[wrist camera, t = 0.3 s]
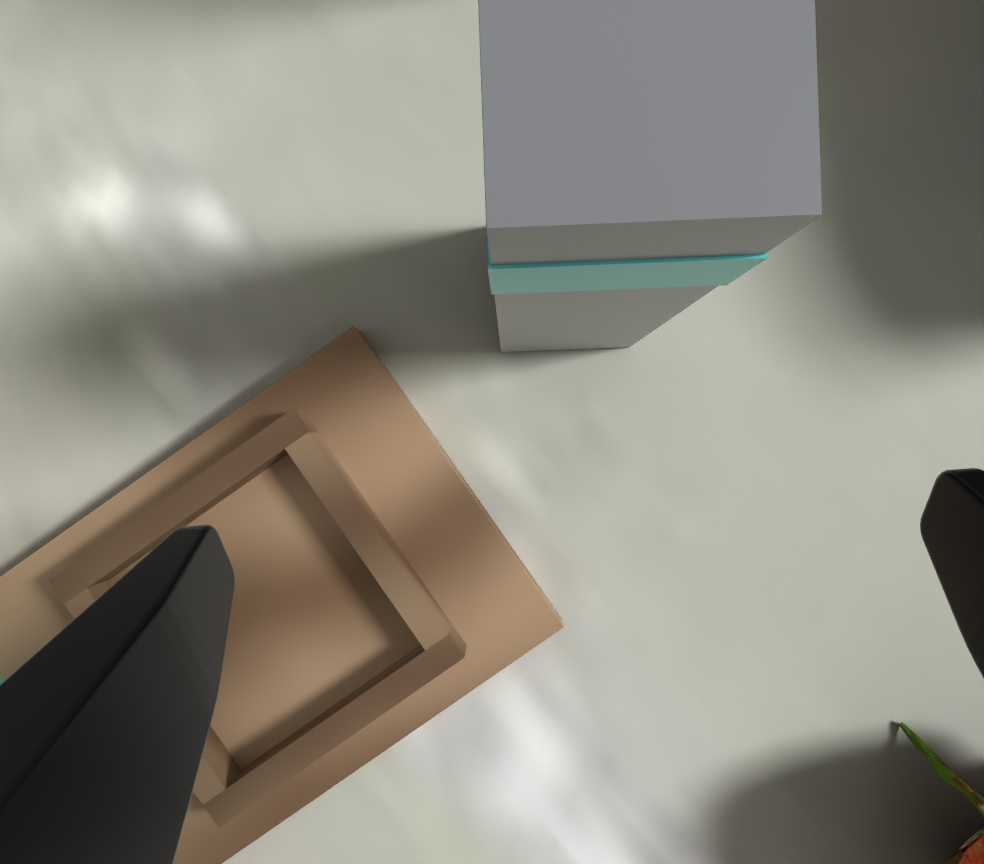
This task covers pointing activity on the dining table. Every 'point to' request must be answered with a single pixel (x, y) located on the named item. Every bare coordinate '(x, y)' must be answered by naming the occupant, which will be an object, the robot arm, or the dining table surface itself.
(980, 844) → the pomegranate
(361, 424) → the tray
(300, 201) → the dining table surface
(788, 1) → the panel
